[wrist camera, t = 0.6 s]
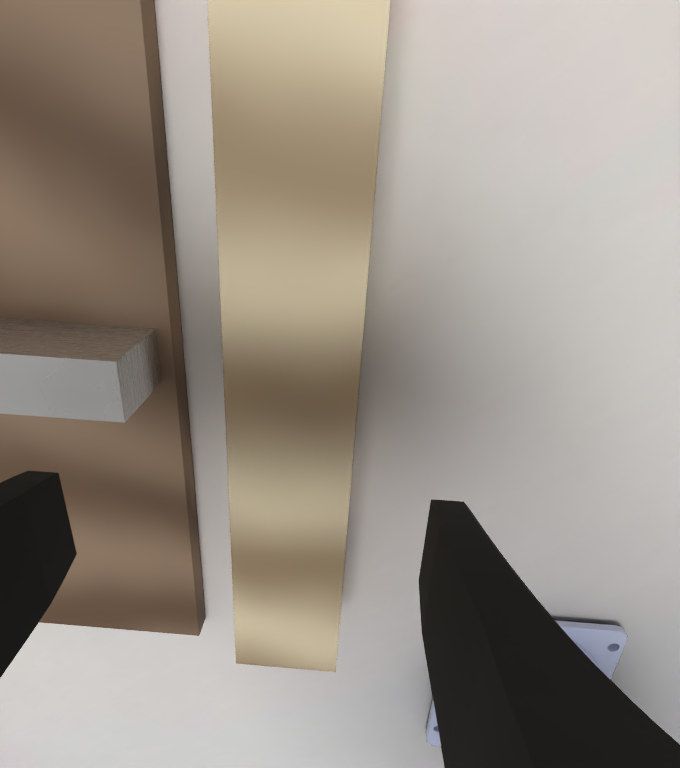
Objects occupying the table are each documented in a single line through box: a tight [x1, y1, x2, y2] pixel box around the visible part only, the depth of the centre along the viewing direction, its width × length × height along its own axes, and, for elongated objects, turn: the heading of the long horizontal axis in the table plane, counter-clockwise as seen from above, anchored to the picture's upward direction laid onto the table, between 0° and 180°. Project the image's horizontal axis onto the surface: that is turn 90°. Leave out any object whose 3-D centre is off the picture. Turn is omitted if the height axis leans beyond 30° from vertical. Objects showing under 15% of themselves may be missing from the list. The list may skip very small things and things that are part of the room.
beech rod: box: [207, 0, 390, 672], centre depth 17 cm, size 24×4×4 cm, turn 177°
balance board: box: [0, 0, 205, 636], centre depth 18 cm, size 28×11×1 cm, turn 177°
